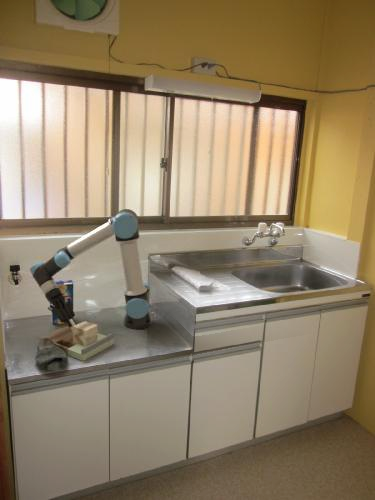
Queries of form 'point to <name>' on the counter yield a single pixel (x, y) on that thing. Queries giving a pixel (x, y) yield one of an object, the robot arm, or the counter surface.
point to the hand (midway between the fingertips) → (76, 331)
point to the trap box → (62, 338)
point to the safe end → (91, 347)
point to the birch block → (85, 333)
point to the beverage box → (67, 293)
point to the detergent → (50, 355)
